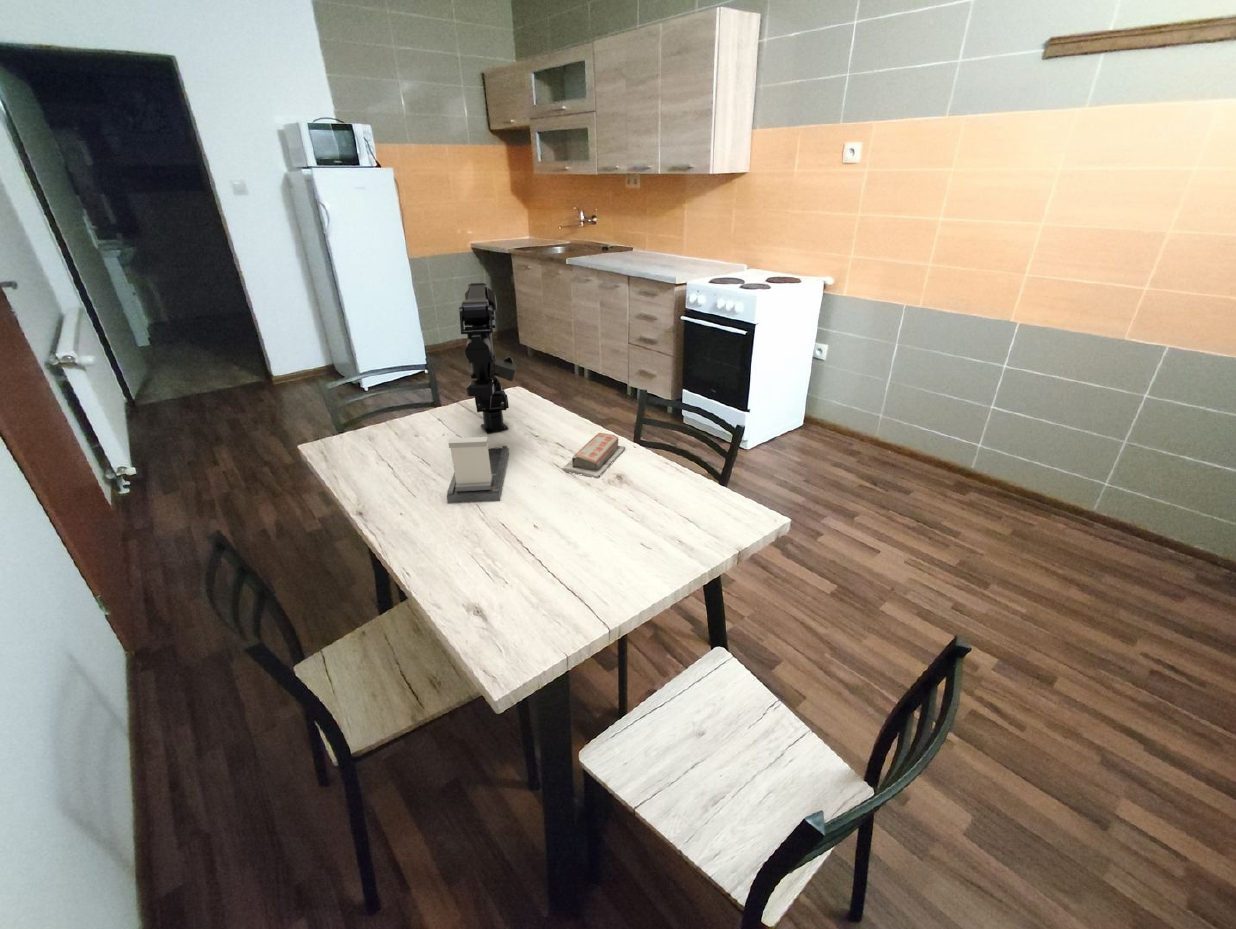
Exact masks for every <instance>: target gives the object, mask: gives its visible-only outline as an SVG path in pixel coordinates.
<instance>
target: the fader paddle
mask: <svg viewBox="0 0 1236 929" xmlns="http://www.w3.org/2000/svg"><path fill="white" fill-rule="evenodd" d="M488 443H489V436H473V437H471V436H470V437H450V439H449V441H448V448H449V449H450V452H451V459H452V465H453V473H454V472H455V478H456V486H455V488H456V491H474V490H491V487H492V482H493V475H491V467H490V459H489V452H488V449H489V446H488Z"/></svg>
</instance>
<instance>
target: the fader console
mask: <svg viewBox="0 0 1236 929" xmlns="http://www.w3.org/2000/svg"><path fill="white" fill-rule="evenodd" d="M488 452H489V459H490V467H491V475H493V482H492V487H491V490H474V491H456V488H455V486H456V478H455V472H454V471H453V475H452V478H451V480H450V483H449V486H448V488H447V492H446V500H447V502H446V503H447V504H458V503H476V502H477V503H479V502H480V503H481V502H482V503H483V502H498V501H501V497H502V493H503V492H502V491H503V488H502V487H504V482H505V478H506V477H505V476H506V473H507V468H508V463H507V462H509V458H508V457H509V456H510V451H509V447H508V445H502V447H496V448H488ZM501 492H502V493H501Z"/></svg>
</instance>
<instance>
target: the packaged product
mask: <svg viewBox="0 0 1236 929" xmlns="http://www.w3.org/2000/svg"><path fill="white" fill-rule="evenodd" d="M624 449H625V450H626V446H624V445H619V437H618V436H617V435H615V434H610V433H605V432H598V433H597V434H595V435H594V436H593V437H592V438H591V439H590V440H589V441H588V442H587V443H586V444H585V445H584V446H582V447H581V449H579V451H578V452H576V453H575V454H574V455H572V458H571V460H569V462H567V463H566V465H564V466H563V467H562V468H563V472H564V471H566V472H565V473H569V472H571V473H570V474H573V473H575V474H574V475H578V474H582V475H581V476H583V475H586V476H585V477H588V476H590V477H589V478H592V477H595V478H594V479H599V478H600V477H601V476H602V475H604V473H605V471H606V470H607V469H608V468H609V467H610V466H611V465H612V464H613V463H614V462H615V461H616V460H617V459H618V457H619V456H620V455H621V454H622V453H623V452H624V451H625V450H624ZM616 458H617V459H616ZM612 462H613V463H612ZM611 463H612V464H611ZM606 468H607V469H606ZM601 474H602V475H601ZM600 475H601V476H600ZM599 476H600V477H599ZM598 477H599V478H598Z"/></svg>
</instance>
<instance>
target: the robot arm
mask: <svg viewBox="0 0 1236 929" xmlns="http://www.w3.org/2000/svg"><path fill="white" fill-rule="evenodd" d="M497 304H498V303H497V297H496V293H495V291H494V290H492V289H491V288H489V287H488V283H486V282H471V283H470V284H468V288H467V291H466V292H465V293H464V300H462V302H461V306H459V309H458V311H459V322H460V323H459V325H460V335H466V336H467V342H466V346H465V350H464V351H465V352H464V354H465V357H466V358H467V359H468V364H470V366H471V373H470V378H471V381H470V382H469V383H468V385H467V387H466V395H467V396H468V397H474V403H475V407H476V408H475V409H476V412H477V413H482V419H483V423H482V424H480V427H481V429H483V431H485V433H486V434H492V433H496V432H500V431H501V432H502V431H505V430H508V429H509V427H508V425H506V423H505V422H504V414H503V411H507V409H509V407H510V406H509V398H508V397H509V396H508V394H506V392H505V390H504V389H503V387H502V384H501V382H500V381H499V379H498V378H501V379H503V380H506V381H509V382H513V381H514V379H515V375H516V373H517V372H516V371H517V367H518V365H517V363H515V362H514V358H513V357H511V356H509V355H507V356H506V357H505V358H504V359H502V358H501V359H498V358H497V357H496V354H495V352H494V348H493V347H494V346H493V337H492V336H493V335H492V334H493V333H494V329H496V312H497V311H498V307H497V306H498V305H497ZM497 377H498V378H497ZM473 379H474V380H473Z"/></svg>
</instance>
